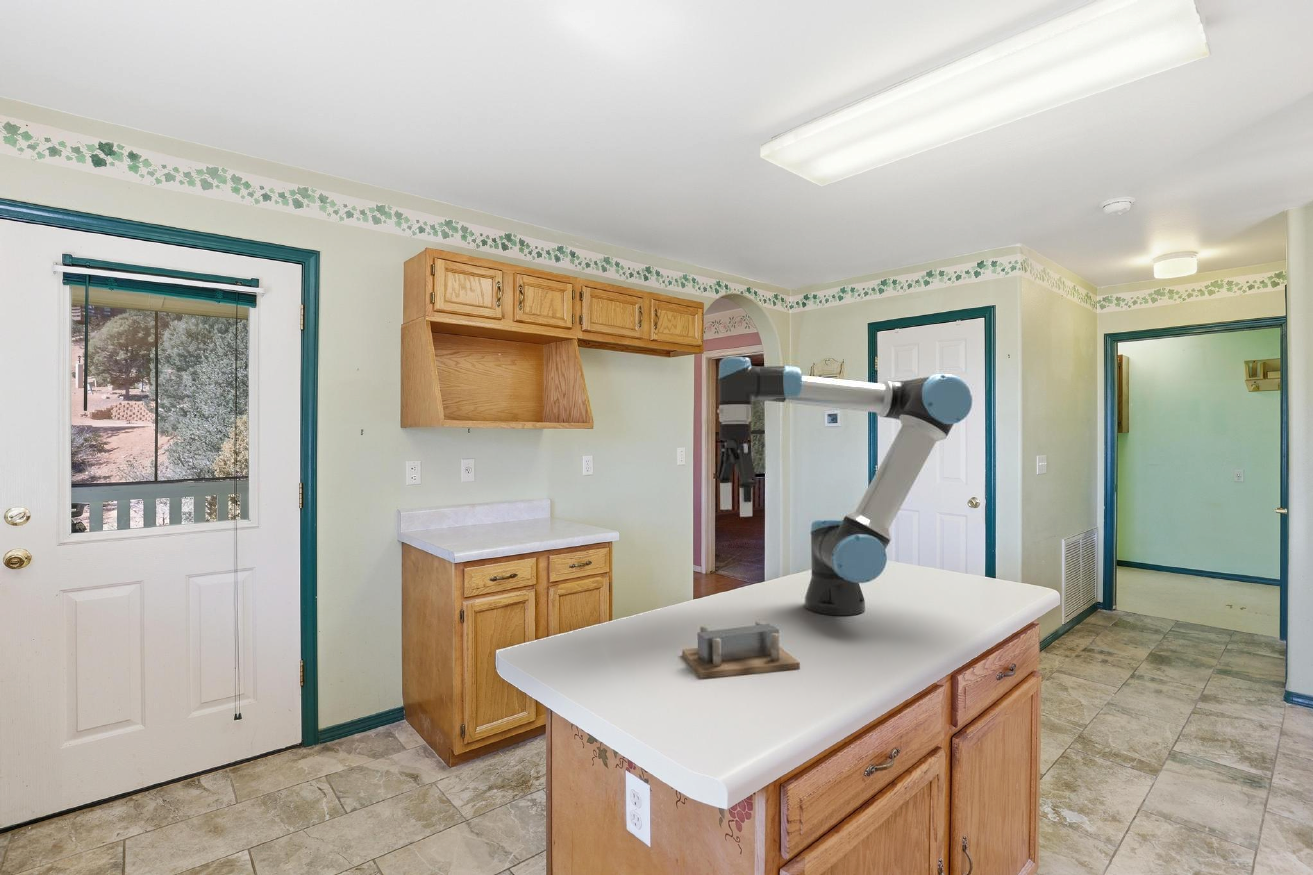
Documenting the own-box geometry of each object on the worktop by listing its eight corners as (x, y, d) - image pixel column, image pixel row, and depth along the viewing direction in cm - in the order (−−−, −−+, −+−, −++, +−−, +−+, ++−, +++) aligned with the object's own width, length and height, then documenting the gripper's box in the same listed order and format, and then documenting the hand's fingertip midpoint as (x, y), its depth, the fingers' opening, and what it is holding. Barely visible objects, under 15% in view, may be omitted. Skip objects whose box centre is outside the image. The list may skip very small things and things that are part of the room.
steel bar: (769, 647, 133) (768, 623, 133) (778, 654, 129) (778, 629, 129) (697, 657, 128) (697, 632, 128) (705, 664, 124) (705, 638, 124)
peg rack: (772, 646, 137) (772, 617, 137) (799, 668, 124) (799, 636, 124) (682, 655, 132) (682, 625, 132) (700, 678, 120) (700, 645, 120)
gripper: (703, 424, 163) (704, 507, 164) (738, 422, 139) (739, 520, 139) (731, 423, 165) (732, 506, 165) (770, 422, 141) (771, 518, 141)
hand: (735, 512), depth 152 cm, fingers open, 13 cm apart
